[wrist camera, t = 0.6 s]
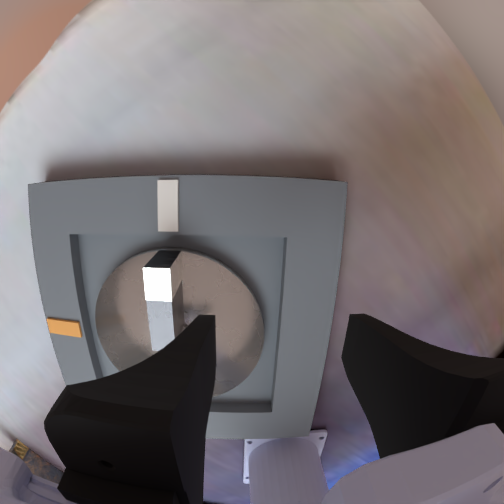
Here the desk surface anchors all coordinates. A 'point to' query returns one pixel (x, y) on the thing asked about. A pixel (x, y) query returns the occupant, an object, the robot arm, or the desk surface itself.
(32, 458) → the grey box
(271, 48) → the desk surface
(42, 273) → the dial plate
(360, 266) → the desk surface
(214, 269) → the dial
